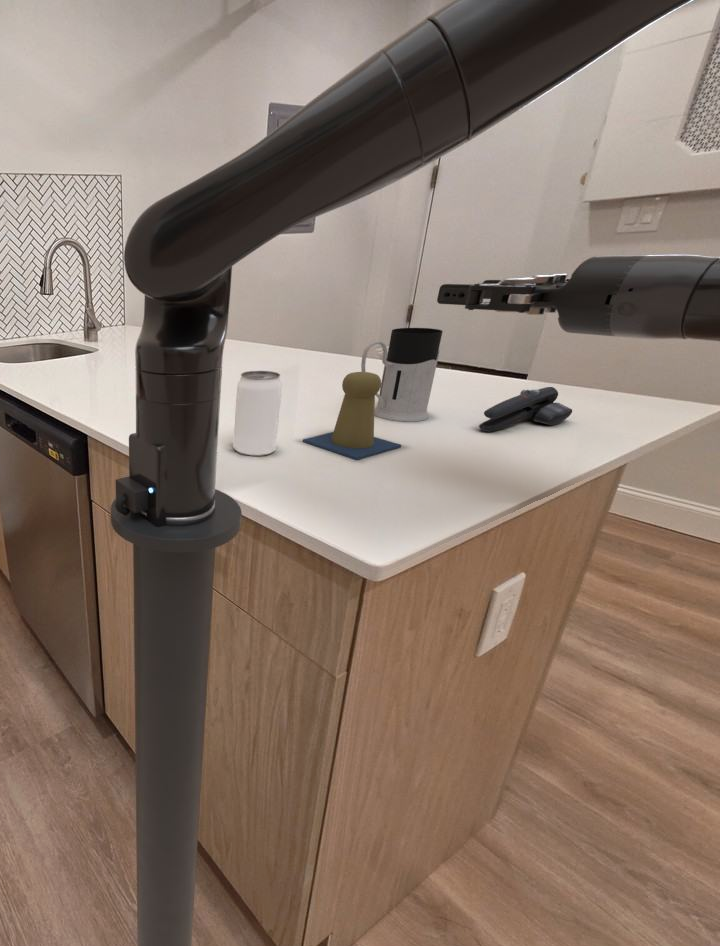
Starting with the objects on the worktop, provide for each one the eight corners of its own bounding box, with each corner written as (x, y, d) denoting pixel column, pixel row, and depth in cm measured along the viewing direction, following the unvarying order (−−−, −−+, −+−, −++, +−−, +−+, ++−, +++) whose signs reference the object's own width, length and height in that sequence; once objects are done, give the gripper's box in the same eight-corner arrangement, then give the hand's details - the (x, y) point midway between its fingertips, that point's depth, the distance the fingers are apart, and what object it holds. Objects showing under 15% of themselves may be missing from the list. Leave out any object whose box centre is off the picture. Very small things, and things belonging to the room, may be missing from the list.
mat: (356, 460, 77) (357, 457, 76) (302, 441, 85) (302, 439, 85) (401, 447, 80) (401, 444, 80) (345, 430, 89) (345, 428, 89)
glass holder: (440, 418, 92) (460, 331, 86) (370, 427, 90) (385, 338, 84) (402, 406, 100) (418, 325, 94) (337, 414, 98) (349, 332, 92)
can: (284, 453, 80) (292, 376, 76) (246, 459, 79) (252, 380, 74) (260, 440, 86) (267, 368, 81) (225, 445, 85) (229, 372, 80)
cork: (379, 448, 79) (392, 376, 75) (336, 448, 80) (347, 377, 76) (366, 436, 85) (378, 368, 80) (326, 435, 86) (336, 369, 81)
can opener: (529, 412, 93) (539, 381, 91) (575, 422, 87) (586, 389, 85) (459, 426, 88) (467, 394, 86) (502, 438, 82) (512, 403, 79)
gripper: (685, 252, 52) (503, 255, 65) (615, 258, 46) (432, 260, 60) (655, 329, 55) (487, 318, 68) (586, 344, 49) (418, 328, 63)
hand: (461, 291), depth 64 cm, fingers open, 8 cm apart
